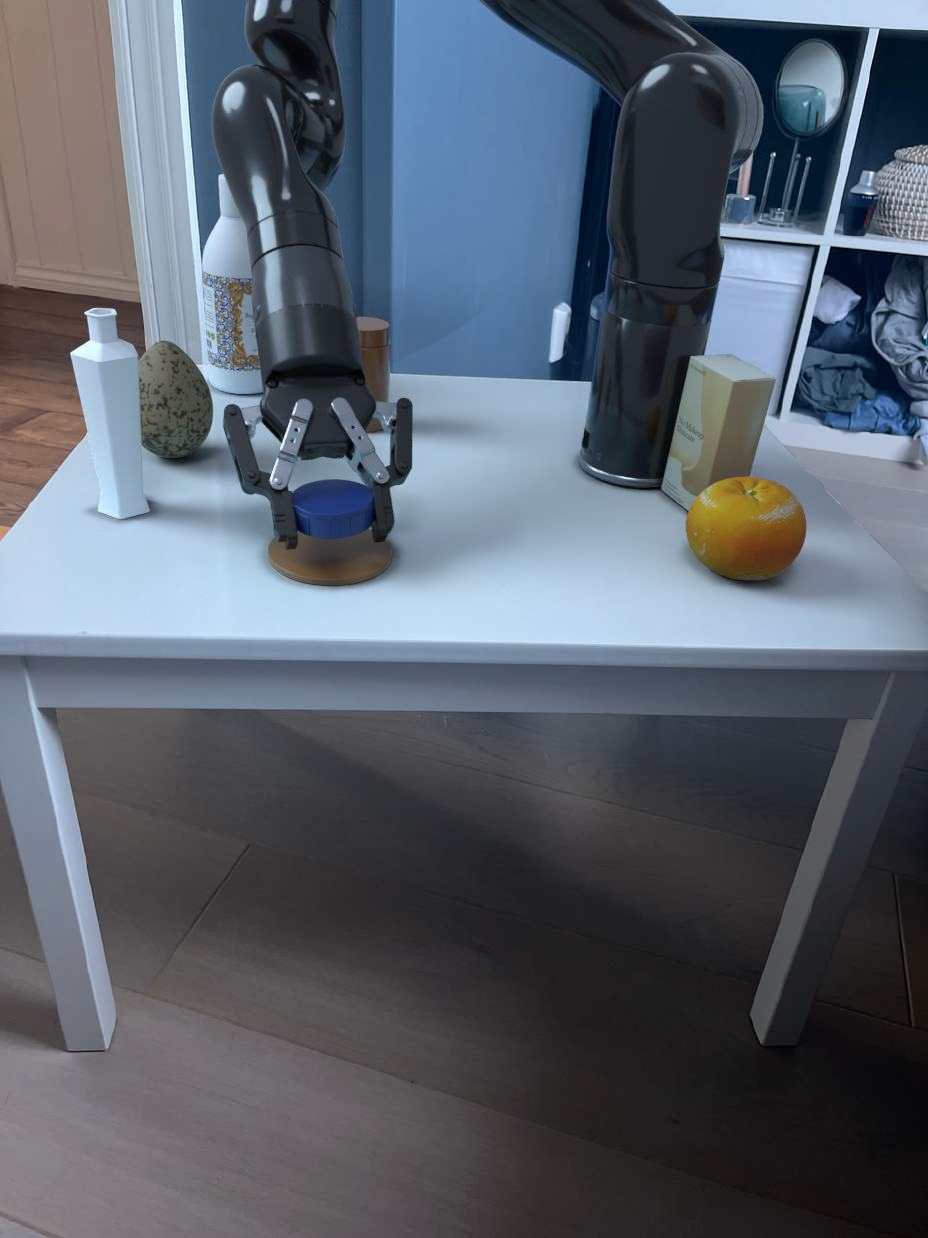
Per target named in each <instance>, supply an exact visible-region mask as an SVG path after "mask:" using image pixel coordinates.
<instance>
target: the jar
mask: <svg viewBox="0 0 928 1238" xmlns="http://www.w3.org/2000/svg"><path fill="white" fill-rule="evenodd" d="M357 326H358V333H359V339H360V346H361V353H362V359H363V366H364V372H365V379H366V385H367V388H368V390H369V391H370V393H371V394H372V395H373V397H374V398H375V401H381V402H390V392H391V367H392V365H391V363H392V362H391V361H392V341H391V339H390V334H391V333H390V329H391V328H390V327H391V325H390V323H389V322H388V321H386V320H384V319H381V318H377V317H371V316H357ZM382 430H383V428H382V424H381V422H380V420H379V419H377V418H374V417H373V418H372V420H371V422H370V423H369V425H368V427H367V428H366V430H365V432H366V433H373V432H379V431H382Z"/></svg>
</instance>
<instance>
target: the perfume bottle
mask: <svg viewBox="0 0 928 1238" xmlns="http://www.w3.org/2000/svg"><path fill="white" fill-rule="evenodd" d="M83 313H84V315H85V316H86V319H87V326H88V333H89V340H88V341H86V342H85V343H83V344H82V345H79V346H78V347H77V348H75V349H74V350H72V351H71V352H70V353H69V354H70V358H71V363H72V367H73V372H74V377H75V381H76V386H77V391H78V394H79V399H80V405H81V408H82V413H83V418H84V421H85V422H84V423H85V426H86V431H87V435H88V441H89V445H90V449H91V453H92V458H93V463H94V467H95V473H96V476H97V481H98V486H99V491H100V493H99V499H98V505H97V512H98V513H101V514H104V515H107V516H110V517H112V518H115V519H117V520H125V519H129V518H132V517H136V516H139V515H143V514H148V513H150V512H151V509H150V506H149V503H148V500H147V497H146V495H145V492H144V476H143V475H144V474H143V473H144V472H143V449H142V447H143V446H142V444H141V418H140V391H139V364H138V361H139V353H138V352H137V349H136V348H135V345H134V344H133V343H131V342H129V341H126V340H123V339H121V338H119V336H118V327H117V319H116V317H117V315H118V312H117V311H116V309H115V308H106V307H105V308H103V307H94V308H93V307H92V308H91V309H88V310H86V311H84V312H83Z"/></svg>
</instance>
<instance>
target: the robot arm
mask: <svg viewBox="0 0 928 1238" xmlns="http://www.w3.org/2000/svg"><path fill="white" fill-rule="evenodd" d="M479 2H480V3H482V5H483V6H484V7H486V8H487V9H488V11H490V12H491V13H492V14H493V15H494V16H496V17H497V18H498V19H500V20H501V21H502V22H504V23H505V24H506V25H507V26H509V28H512V29H513V30H515V31H516V32H518V33H519V34H521V35H522V36H523V37H526V38H527V39H529V40H530V41H532V42H534V43H535V44H537V45H538V46H540V47H541V48H543V49H545V50H546V51H548V52H550V53H551V54H553V55H555V56H557V57H558V58H560V59H561V60H564V61H565V62H567V63H568V64H570V65H572V66H573V67H576V68H577V69H578V70H580V71H581V72H583V74H585V75H587V76H588V77H589V78H591V79H592V80H593V81H594V82H596V84H598V85H599V87H601V88H602V89H603V90H604V91H605V92H606V93H607V94H608V95H609V96H610V97H611V98H612V99H613V100H614V101H615V102H616V103H617V104H618V105H619V107H620V108H621V109H620V113H619V117H618V122H617V126H616V127H617V128H616V131H615V132H616V133H615V139H614V140H615V141H614V147H613V155H612V165H611V173H610V183H609V191H608V202H607V211H606V234H607V240H608V244H609V257H608V258H609V259H608V264H607V265H608V266H607V272H606V278H605V284H604V285H605V286H604V292H603V299H602V300H603V301H602V305H601V306H602V308H601V312H600V313H601V314H600V321H599V326H598V327H599V328H598V334H597V341H596V347H595V355H594V362H593V369H592V370H593V371H592V376H591V382H590V389H589V397H588V401H587V402H588V403H587V409H586V416H585V422H584V425H583V431H582V432H581V433H582V437H581V448H580V451H579V455H578V464H579V466H580V467H581V469H582V470H584V471H585V472H586V473H587V474H589V475H591V476H592V477H595V478H597V479H598V480H602V481H604V482H607V483H610V484H613V485H619V486H623V487H631V488H643V489H644V488H647V489H648V488H659V487H662V483H663V479H664V474H665V470H666V465H667V461H668V456H669V452H670V447H671V443H672V438H673V434H674V429H675V424H676V420H677V416H678V411H679V406H680V402H681V398H682V393H683V389H684V384H685V380H686V375H687V371H688V366H689V361H690V357H691V356H700V355H706V349H707V343H708V339H709V335H710V329H711V325H712V320H713V315H714V310H715V304H716V300H717V295H718V291H719V286H720V281H721V277H722V272H723V266H724V263H725V262H724V261H725V258H726V257H725V255H726V251H725V246H724V244H723V242H722V239H721V223H722V216H723V210H724V206H725V205H724V204H725V199H726V194H727V187H728V182H729V177H730V174H732V173H734V172H735V171H737V170H738V169H740V168H741V167H742V166H743V165H744V164H745V163H746V162H747V161H748V160H749V159H750V158H751V156H752V155H753V154H754V152H755V150H756V148H757V146H758V144H759V141H760V139H761V135H762V133H763V126H764V125H763V124H764V106H763V100H762V96H761V93H760V90H759V87H758V85H757V83H756V81H755V79H754V77H753V76H752V74H751V73H750V72H749V71H748V69H747V68H746V67H745V66H744V65H743V64H742V63H741V62H739V60H737V59H735V57H733V56H731V55H730V54H728V53H727V52H726V51H724V50H723V49H722V48H720V47H719V46H717V45H716V44H714V43H713V42H712V41H711V40H709V39H708V38H706V37H705V36H703V34H701V33H699V32H698V31H697V30H696V29H694V28H693V27H692V26H690V24H688V23H687V22H686V21H684V20H683V19H682V18H680V17H679V16H678V15H677V14H676V13H674V12H673V11H672V10H670V9H669V8H668V7H667V6H666V5H665V4H663V3H662V2H661V1H660V0H479ZM339 6H340V0H245V8H244V9H245V12H244V21H243V22H244V24H243V25H244V29H243V31H244V38H245V41H246V44H247V47H248V48H249V51H250V52H251V53H252V54H253V56H254V57H255V59H256V60H257V61H258V63H259V64H256V63H255V64H246V65H242V66H240V67H236V68H235V69H234V70H232V71H231V72H230V73H229V74H228V75H227V76H225V78H223V80H222V81H221V83H220V85H219V87H218V89H217V91H216V93H215V96H214V99H213V104H212V109H211V117H210V125H211V126H210V127H211V137H212V143H213V147H214V151H215V154H216V157H217V160H218V163H219V166H220V169H221V171H222V174H224V177H225V179H226V182H227V184H228V187H229V189H230V192H231V195H232V197H233V200H234V202H235V205H236V207H237V209H238V211H239V213H240V215H241V217H242V220H243V222H244V224H245V227H246V234H247V244H248V252H249V259H250V267H251V275H252V309H253V317H254V325H255V332H256V341H257V348H258V356H259V364H260V371H261V379H262V387H263V392H262V397H261V399H260V401H259V404H256V405H252V406H246V407H240V406H239V405H237V404H235V403H230V404H227V405H225V407H224V409H223V414H222V415H223V416H222V417H223V418H222V428H223V432H224V434H225V438H226V441H227V446H228V448H229V452H230V454H231V458H232V461H233V465H234V469H235V471H236V475H237V478H238V482H239V485H240V488H241V490H242V492H243V493H244V494H246V495H248V496H249V495H250V496H253V495H255V494H256V495H258V496H262V497H265V498H266V499H267V500H268V501H269V504H270V512H271V521H272V527H273V535H274V538H276V539H277V541H278V542H285V548H286V550H290V549H296V548H297V544H298V534H297V526H296V519H295V511H294V503H293V496H292V493H293V491H292V490H289V483H290V481H291V477H292V475H293V473H294V470H295V466H296V463H297V461H298V458H300V460H301V461H312V460H315V459H319V458H328V459H332V460H333V459H335V460H336V459H345V460H346V462H347V464H348V465H349V467H350V469H351V470H352V471H353V472H354V473H356V474H357V476H358V477H359V479H360V480H361V481H362V484H363V485H365V486H367V487H368V488H369V489H370V490H371V492H372V494H373V503H374V521H373V524H372V525H371V527H370V529H371V530H372V535H373V541H374V543H375V542H384V541H385V539H386V540H387V538H388V535H389V534H390V533H391V532H392V531H393V529H394V526H395V523H396V522H395V521H396V518H395V513H394V507H393V499H392V493H391V488H393V487H395V486H402V485H403V484H404V483H405V482H406V480H407V479H408V477H409V474H410V473H411V471H412V469H413V429H414V428H413V427H414V426H413V425H414V424H413V423H414V422H413V420H414V419H413V418H414V417H413V415H414V413H413V412H414V410H413V409H414V405H413V402H412V400H411V399H409V398H408V397H401V398H398V399H397V400H396V402H391V401H389V402H381V401H375V398H374V397H373V395H372V394H371V393H370V391H369V390H368V388H367V385H366V379H365V372H364V366H363V359H362V353H361V346H360V339H359V333H358V326H357V317H358V311H357V306H356V305H355V300H354V295H353V290H352V286H351V283H350V279H349V277H348V274H347V270H346V263H345V257H344V251H343V250H344V249H343V244H342V237H341V231H340V225H339V220H338V216H337V212H336V210H335V208H334V206H333V203H332V202H331V200H330V199H329V198H328V197H327V195H326V194H325V193H324V192H325V191H326V189H328V188H329V187H330V186H331V184H332V183H333V182H334V180H335V178H336V177H337V175H338V173H339V171H340V169H341V166H342V163H343V159H344V156H345V150H346V141H347V123H346V113H345V112H346V111H345V105H344V98H343V97H344V96H343V89H342V81H341V72H340V67H339V61H338V57H337V51H336V45H335V44H336V35H337V26H338V18H339V17H338V16H339V8H340V7H339ZM373 417H374V418H377V419H379V420H380V422H381V424H382V428H383V429H382V430H383V431H384V432H385V433H387V434H389V443H390V444H389V464H388V465H385V464H384V463H383V461H382V459H381V458H380V457H379V455H378V453H377V451H376V447H375V444H374V442H373V441H372V439H371V438H370V437H369V435H368V434H367V432H365V430H366V428H367V427H368V425H369V423H370V422H371V420H372V418H373ZM259 423H261V424H263V425H264V427H265V428H267V430H268V431H269V432H270V433H271V434H272V435H273V436H274V437H275V438H276V439H277V441H279V443H280V444H281V446H280V449H279V451H278V455H277V459H276V460H275V463H274V467H273V470H272V473H270V472H266V471H264V470H263V471H262V470H260V467H259V464H258V462H257V457H256V454H255V451H254V447H253V444H252V439H254V437H255V436H256V432H257V425H258V424H259Z"/></svg>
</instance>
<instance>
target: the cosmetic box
mask: <svg viewBox="0 0 928 1238" xmlns="http://www.w3.org/2000/svg"><path fill="white" fill-rule="evenodd" d="M776 380H777V378H776V377H775V376H773V375H770V374H769V373H767V372H765V371H763V370H761V369H760V368H759V367H757V366H756V365H754V364H752V363H750V362H747V361H744V360H743V359H741V358H739V357H738V356H736V355H734V354H732V353H720V354H705V355H700V356H691V357H690V361H689V366H688V371H687V375H686V380H685V384H684V389H683V393H682V398H681V402H680V406H679V411H678V416H677V420H676V424H675V429H674V434H673V438H672V443H671V447H670V452H669V456H668V461H667V465H666V470H665V474H664V479H663V483H662V486H661V491H662V492H664V493H665V494H666V495H667V496H668V497H670V498H671V499H672V500H673V501H675V503H677V504H678V505H680V507H682V508H684V510H686V511H688V512H689V509H690V507H691V505H692V503H693V502H694V500H695V499H696V498H697V496H698V495H699V494H700V493H701V492H703V491H704V490H705V489H706V488H708V487H709V486H711V485H712V484H714V483H716V482H719V481H721V480H725V479H729V478H734V477H751V473H752V468H753V465H754V461H755V458H756V455H757V450H758V447H759V444H760V440H761V436H762V432H763V428H764V425H765V421H766V417H767V414H768V410H769V406H770V402H771V400H772V396H773V392H774V389H775V384H776Z"/></svg>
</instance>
